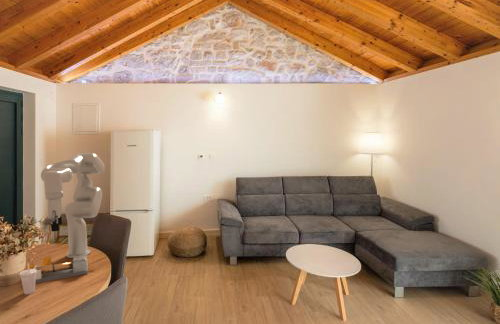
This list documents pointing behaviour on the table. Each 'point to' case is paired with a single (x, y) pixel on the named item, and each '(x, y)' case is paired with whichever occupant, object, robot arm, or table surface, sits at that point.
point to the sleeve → (79, 264)
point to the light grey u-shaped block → (38, 272)
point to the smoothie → (28, 280)
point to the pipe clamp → (45, 263)
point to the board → (59, 275)
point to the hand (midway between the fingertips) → (57, 227)
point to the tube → (55, 267)
